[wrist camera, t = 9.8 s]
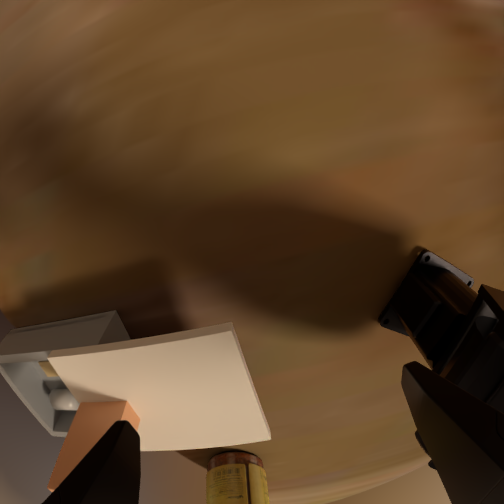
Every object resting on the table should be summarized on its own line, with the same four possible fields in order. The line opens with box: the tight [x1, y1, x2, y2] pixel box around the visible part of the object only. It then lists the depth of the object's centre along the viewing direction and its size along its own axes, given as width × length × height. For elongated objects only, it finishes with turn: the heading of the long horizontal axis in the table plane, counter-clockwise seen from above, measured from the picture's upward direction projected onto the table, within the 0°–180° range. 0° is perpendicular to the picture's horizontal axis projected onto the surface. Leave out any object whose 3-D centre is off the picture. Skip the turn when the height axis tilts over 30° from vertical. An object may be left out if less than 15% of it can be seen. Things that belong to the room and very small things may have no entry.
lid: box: [47, 322, 271, 492], centre depth 15 cm, size 12×10×8 cm
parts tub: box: [0, 310, 131, 437], centre depth 22 cm, size 12×10×4 cm
